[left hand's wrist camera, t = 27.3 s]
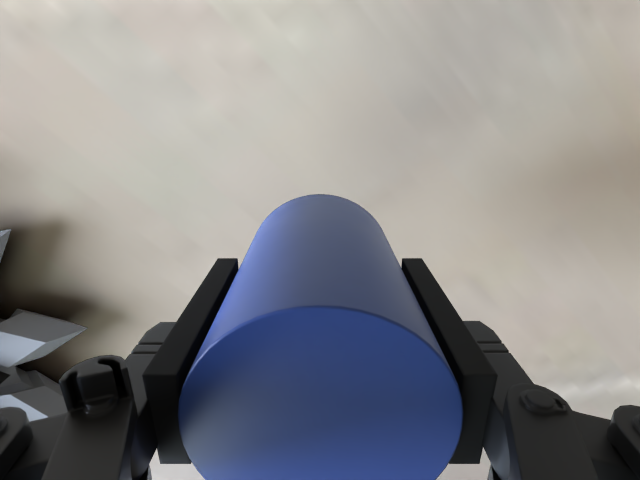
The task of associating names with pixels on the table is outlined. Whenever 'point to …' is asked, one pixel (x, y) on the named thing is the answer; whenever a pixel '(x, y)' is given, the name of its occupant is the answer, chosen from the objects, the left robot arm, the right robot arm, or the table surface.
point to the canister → (320, 360)
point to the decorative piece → (31, 358)
